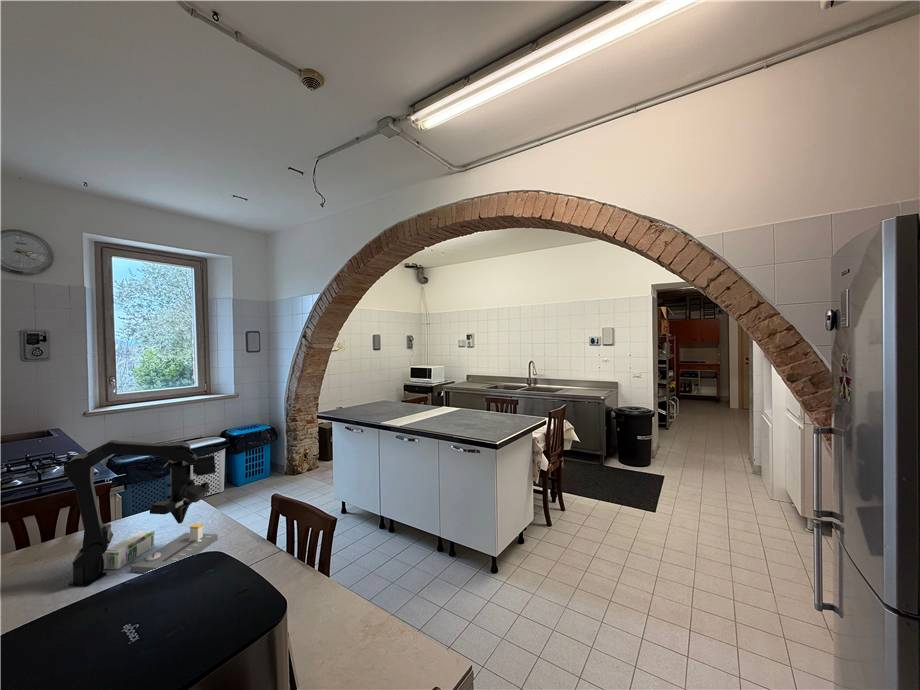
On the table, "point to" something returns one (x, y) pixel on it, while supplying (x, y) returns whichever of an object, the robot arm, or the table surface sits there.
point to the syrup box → (128, 549)
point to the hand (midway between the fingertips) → (180, 523)
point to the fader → (196, 531)
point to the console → (174, 552)
